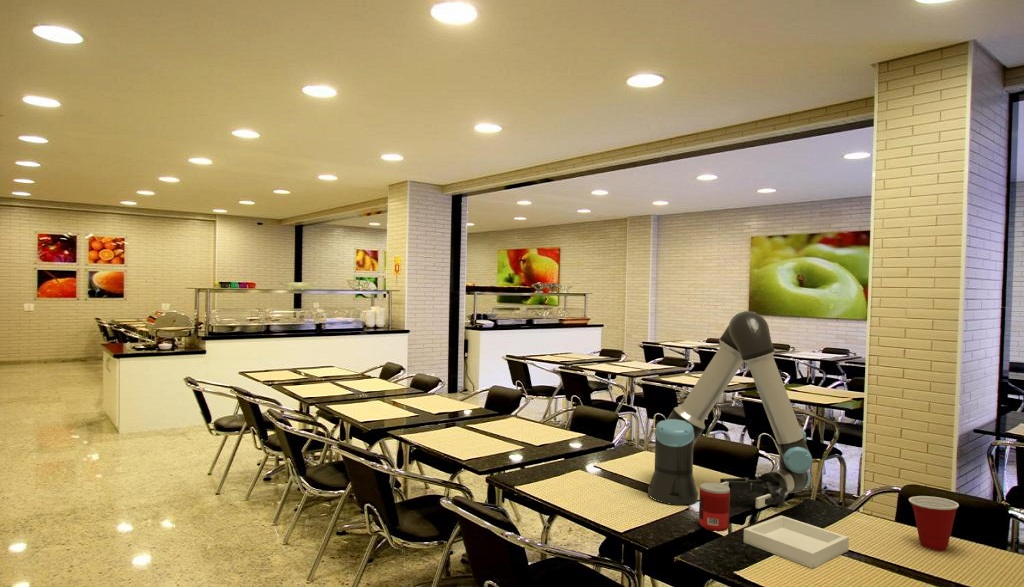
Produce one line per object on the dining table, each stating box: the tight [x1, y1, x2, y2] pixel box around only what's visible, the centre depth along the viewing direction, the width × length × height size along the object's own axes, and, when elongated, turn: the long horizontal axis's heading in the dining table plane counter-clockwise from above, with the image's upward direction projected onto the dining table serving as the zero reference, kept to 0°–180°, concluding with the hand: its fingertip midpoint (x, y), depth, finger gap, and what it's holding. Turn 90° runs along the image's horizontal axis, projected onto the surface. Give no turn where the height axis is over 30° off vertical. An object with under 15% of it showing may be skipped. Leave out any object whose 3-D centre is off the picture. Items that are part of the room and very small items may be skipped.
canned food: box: [698, 482, 731, 532], centre depth 169 cm, size 8×8×11 cm
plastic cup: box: [908, 495, 960, 552], centre depth 159 cm, size 11×11×12 cm
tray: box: [743, 515, 850, 569], centre depth 156 cm, size 18×18×4 cm
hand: (735, 496), depth 175 cm, fingers open, 13 cm apart
